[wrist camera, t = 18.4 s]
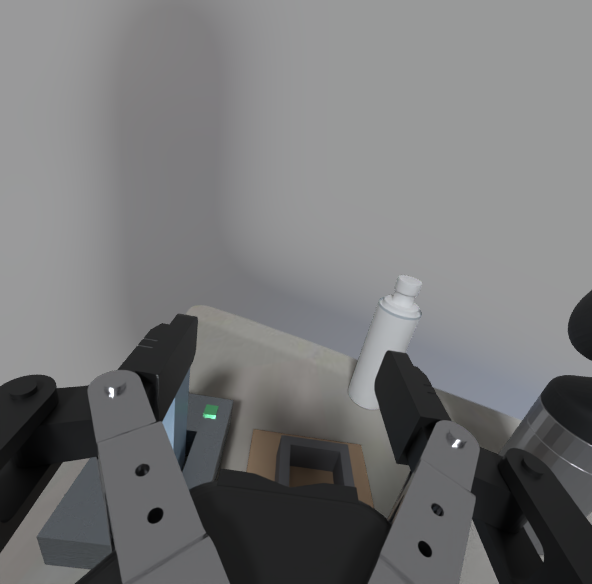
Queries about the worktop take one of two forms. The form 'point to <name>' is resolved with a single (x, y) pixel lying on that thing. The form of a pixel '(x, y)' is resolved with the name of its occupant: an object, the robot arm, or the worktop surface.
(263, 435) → the holster
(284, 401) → the worktop surface
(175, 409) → the plug
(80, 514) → the port block
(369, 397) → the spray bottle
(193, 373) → the worktop surface
